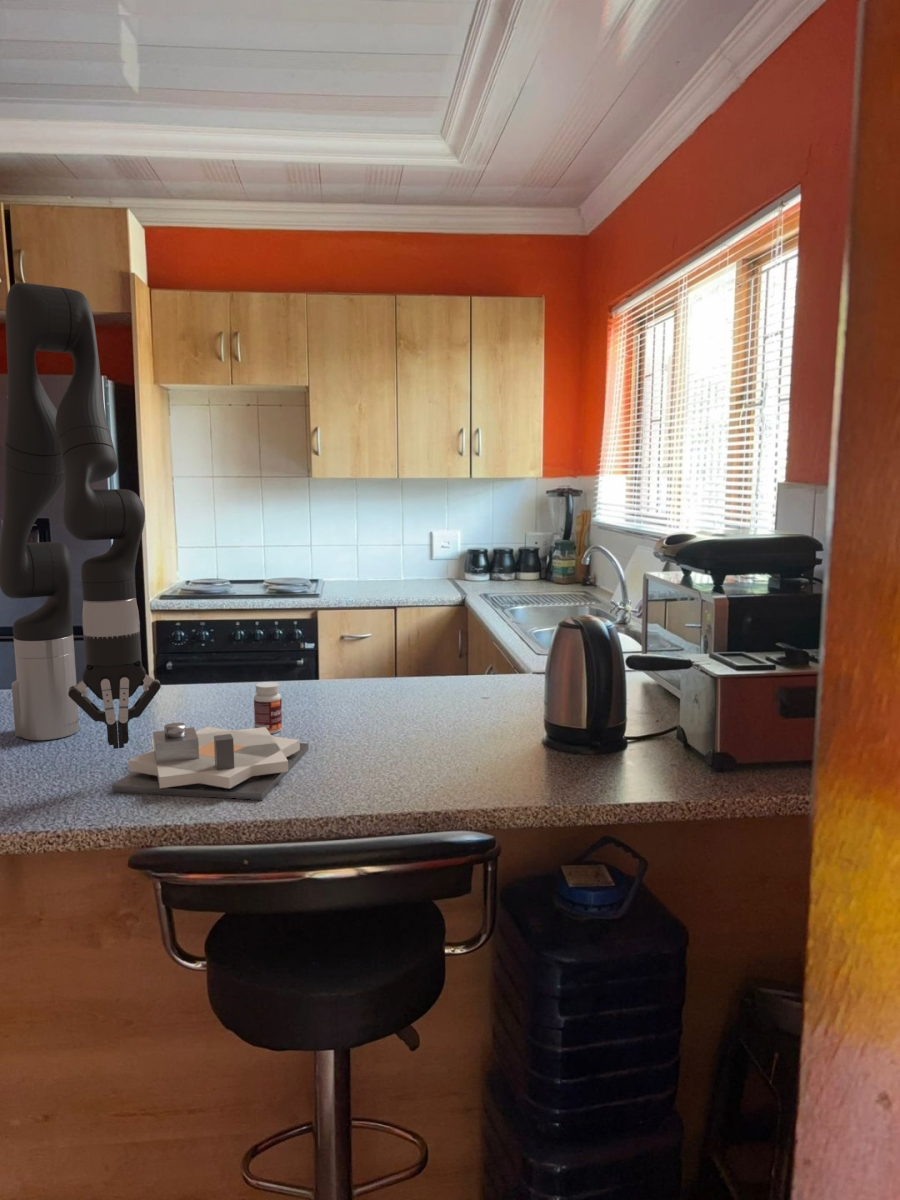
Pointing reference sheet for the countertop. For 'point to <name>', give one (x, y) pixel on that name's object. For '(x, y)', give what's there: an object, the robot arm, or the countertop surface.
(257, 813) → the countertop surface
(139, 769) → the turntable
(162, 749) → the cover
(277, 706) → the pill bottle
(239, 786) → the base
